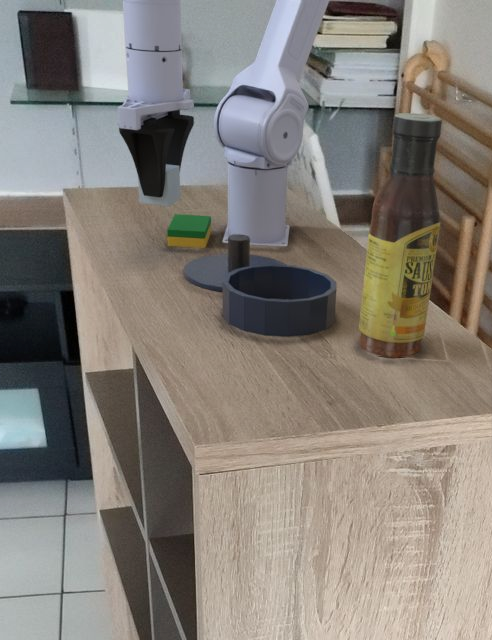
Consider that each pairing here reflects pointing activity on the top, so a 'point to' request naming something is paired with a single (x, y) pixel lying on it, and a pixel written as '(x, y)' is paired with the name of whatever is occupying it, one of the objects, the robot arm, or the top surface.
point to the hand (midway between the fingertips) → (160, 191)
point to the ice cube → (165, 189)
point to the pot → (279, 300)
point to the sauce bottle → (402, 242)
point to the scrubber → (189, 231)
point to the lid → (224, 263)
